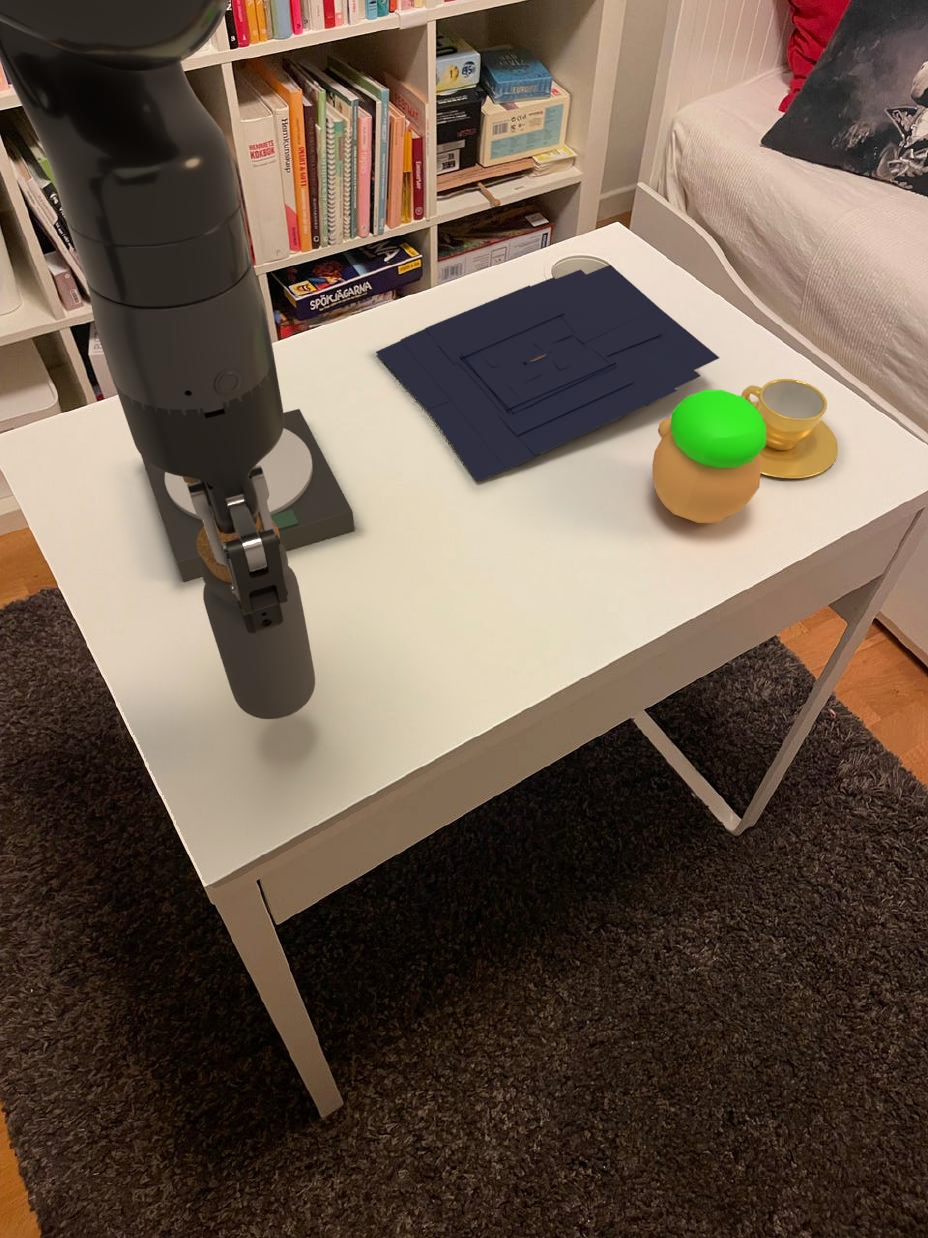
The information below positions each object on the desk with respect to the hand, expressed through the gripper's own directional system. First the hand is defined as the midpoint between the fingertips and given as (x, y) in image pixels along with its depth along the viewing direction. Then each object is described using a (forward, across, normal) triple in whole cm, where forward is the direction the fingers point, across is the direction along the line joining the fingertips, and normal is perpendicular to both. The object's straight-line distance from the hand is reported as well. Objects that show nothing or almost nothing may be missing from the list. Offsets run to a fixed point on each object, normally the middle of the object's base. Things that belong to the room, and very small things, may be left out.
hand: (250, 587), depth 55 cm
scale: (+18, -27, +4) cm, 33 cm away
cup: (+17, -14, +56) cm, 61 cm away
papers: (+18, -33, +39) cm, 54 cm away
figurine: (+18, -10, +43) cm, 48 cm away
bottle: (+11, 0, 0) cm, 11 cm away
